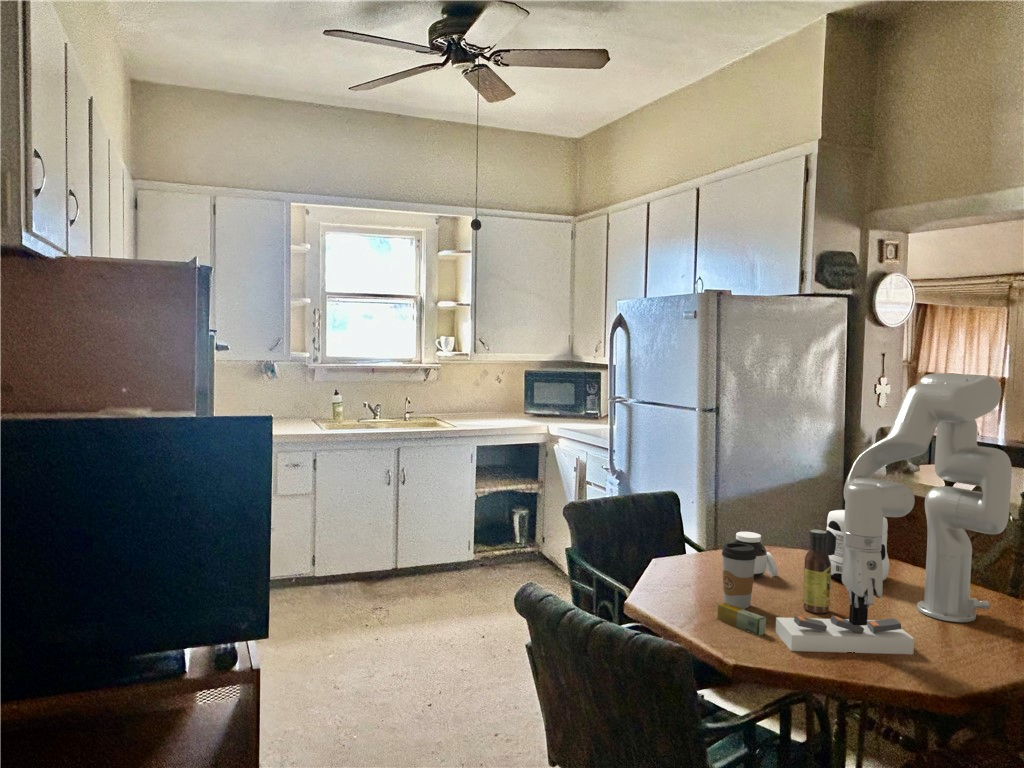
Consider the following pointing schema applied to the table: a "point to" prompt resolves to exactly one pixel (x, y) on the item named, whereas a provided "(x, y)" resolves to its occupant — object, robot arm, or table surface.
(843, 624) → the rocker middle
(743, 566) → the coffee cup
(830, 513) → the milk container
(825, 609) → the sauce bottle
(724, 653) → the table surface
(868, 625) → the rocker
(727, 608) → the medication box
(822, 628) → the rocker
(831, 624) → the rocker switch panel
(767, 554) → the spread jar
